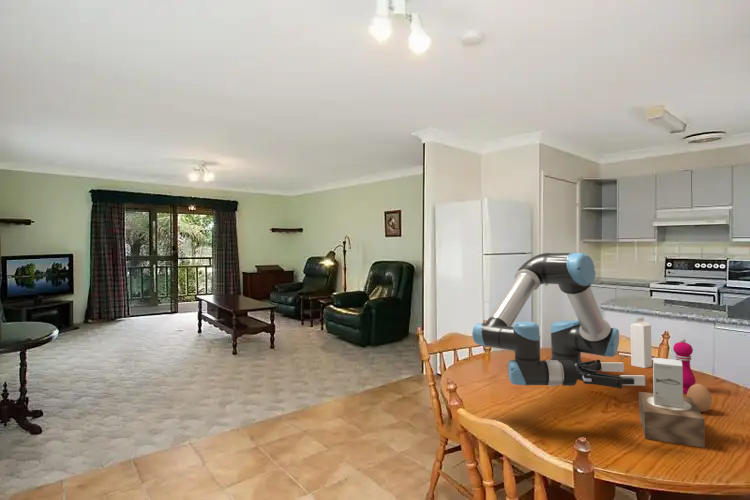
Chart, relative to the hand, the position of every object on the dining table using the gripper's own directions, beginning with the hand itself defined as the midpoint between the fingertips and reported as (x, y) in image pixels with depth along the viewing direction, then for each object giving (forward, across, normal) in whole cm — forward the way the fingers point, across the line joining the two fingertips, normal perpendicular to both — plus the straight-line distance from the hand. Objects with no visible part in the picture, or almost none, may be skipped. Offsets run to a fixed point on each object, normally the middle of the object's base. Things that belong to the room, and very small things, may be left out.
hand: (633, 373), depth 130 cm
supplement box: (+10, 0, -9) cm, 13 cm away
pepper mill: (+34, -36, -18) cm, 52 cm away
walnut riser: (+10, 0, -17) cm, 20 cm away
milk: (+34, -70, -18) cm, 80 cm away
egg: (+27, -16, -18) cm, 36 cm away
